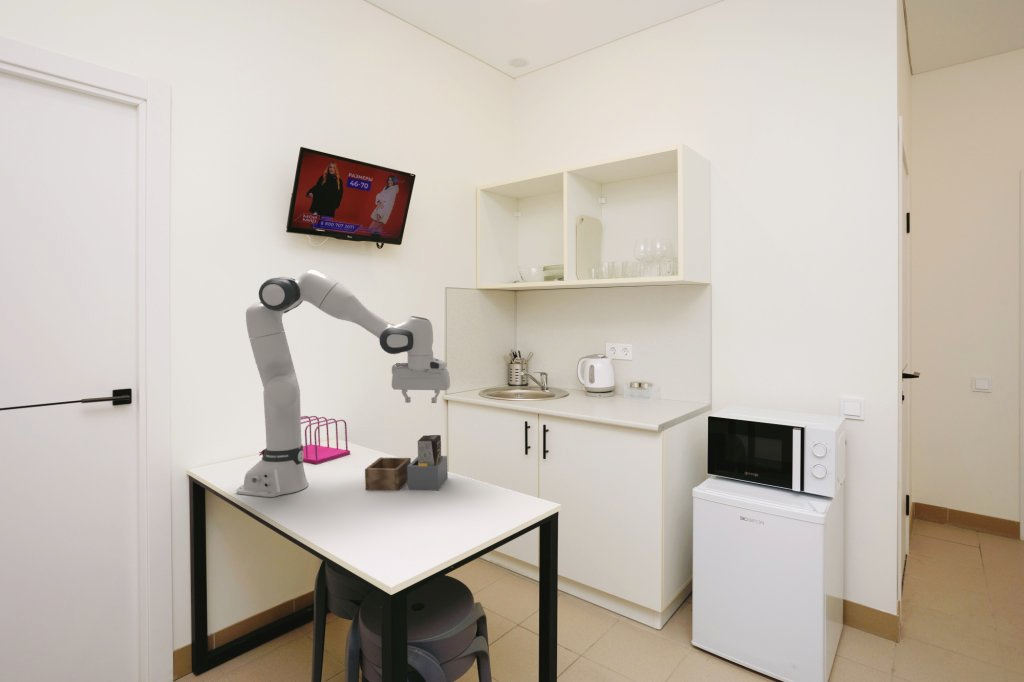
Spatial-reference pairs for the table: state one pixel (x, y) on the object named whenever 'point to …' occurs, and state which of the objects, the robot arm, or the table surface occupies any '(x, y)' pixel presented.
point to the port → (427, 475)
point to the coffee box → (429, 449)
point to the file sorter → (322, 453)
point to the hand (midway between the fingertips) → (421, 402)
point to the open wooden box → (387, 474)
